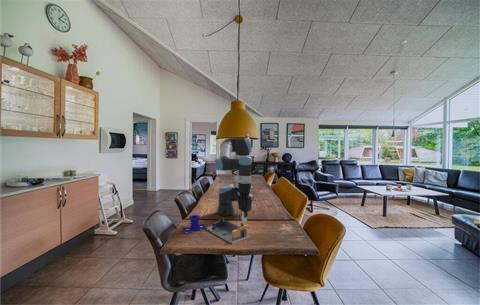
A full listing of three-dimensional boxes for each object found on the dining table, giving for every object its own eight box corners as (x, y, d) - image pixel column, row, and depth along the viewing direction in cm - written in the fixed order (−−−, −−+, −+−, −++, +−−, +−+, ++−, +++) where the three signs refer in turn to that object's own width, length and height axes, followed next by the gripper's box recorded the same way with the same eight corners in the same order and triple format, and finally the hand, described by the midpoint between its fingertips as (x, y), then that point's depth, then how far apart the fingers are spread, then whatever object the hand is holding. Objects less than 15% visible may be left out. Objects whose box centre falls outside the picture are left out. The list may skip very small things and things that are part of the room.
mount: (202, 225, 153) (202, 213, 152) (206, 229, 146) (206, 216, 146) (182, 229, 145) (182, 217, 144) (185, 233, 138) (185, 220, 138)
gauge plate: (206, 229, 145) (206, 219, 145) (222, 224, 154) (222, 215, 154) (232, 244, 124) (232, 232, 124) (249, 237, 134) (249, 226, 133)
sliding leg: (230, 237, 129) (230, 225, 129) (243, 232, 136) (243, 221, 136) (234, 239, 127) (234, 227, 127) (246, 234, 134) (246, 223, 134)
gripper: (232, 181, 126) (232, 220, 127) (247, 184, 116) (247, 227, 117) (241, 180, 131) (241, 218, 132) (257, 183, 121) (256, 223, 122)
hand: (244, 222), depth 124 cm, fingers closed
